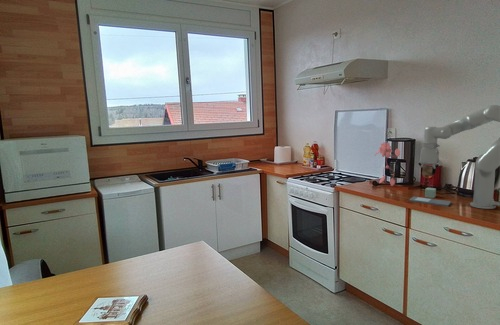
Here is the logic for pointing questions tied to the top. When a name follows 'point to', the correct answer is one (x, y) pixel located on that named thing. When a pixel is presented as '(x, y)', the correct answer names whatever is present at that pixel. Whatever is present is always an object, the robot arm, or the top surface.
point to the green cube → (430, 192)
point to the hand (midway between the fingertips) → (428, 173)
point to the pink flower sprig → (386, 152)
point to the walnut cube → (427, 170)
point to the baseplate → (430, 201)
